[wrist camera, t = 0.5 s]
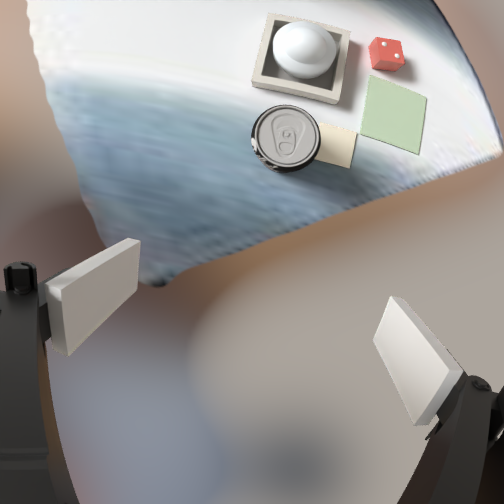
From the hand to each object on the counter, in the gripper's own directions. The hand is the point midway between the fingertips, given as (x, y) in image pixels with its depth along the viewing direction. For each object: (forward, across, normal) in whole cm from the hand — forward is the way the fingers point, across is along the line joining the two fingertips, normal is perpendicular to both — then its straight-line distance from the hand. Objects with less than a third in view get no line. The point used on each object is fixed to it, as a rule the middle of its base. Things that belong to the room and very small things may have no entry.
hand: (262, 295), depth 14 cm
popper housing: (+26, 0, +22) cm, 34 cm away
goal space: (+26, +14, +18) cm, 34 cm away
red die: (+26, +11, +26) cm, 38 cm away
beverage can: (+26, 0, +9) cm, 27 cm away
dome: (+24, 0, +22) cm, 32 cm away
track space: (+26, +6, +11) cm, 28 cm away
